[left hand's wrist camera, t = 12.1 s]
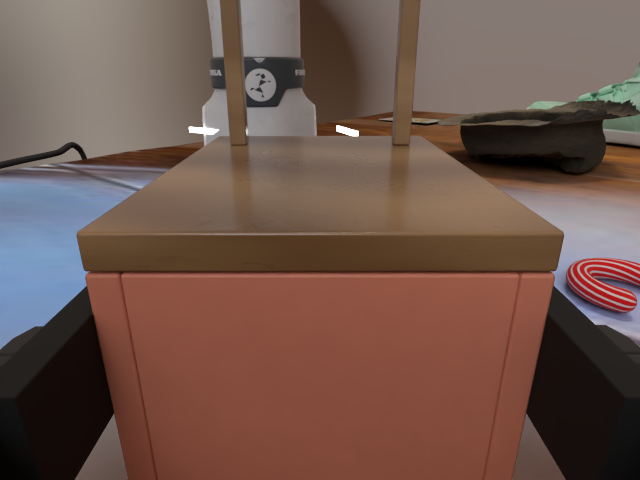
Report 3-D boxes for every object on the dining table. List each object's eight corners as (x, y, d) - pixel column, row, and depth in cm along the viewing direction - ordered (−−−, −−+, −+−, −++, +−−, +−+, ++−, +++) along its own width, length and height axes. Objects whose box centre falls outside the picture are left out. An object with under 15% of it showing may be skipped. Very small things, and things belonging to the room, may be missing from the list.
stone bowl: (672, 176, 55) (691, 98, 52) (483, 199, 53) (488, 119, 49) (549, 142, 78) (556, 86, 74) (412, 156, 75) (412, 100, 72)
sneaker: (535, 129, 99) (552, 28, 91) (740, 149, 75) (787, 14, 68) (506, 135, 90) (523, 24, 83) (728, 160, 66) (779, 7, 59)
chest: (230, 327, 24) (215, 158, 21) (409, 327, 24) (424, 158, 21) (146, 571, 12) (82, 275, 9) (494, 571, 12) (557, 275, 9)
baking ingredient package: (426, 122, 106) (377, 118, 116) (426, 124, 106) (377, 120, 116) (446, 119, 112) (397, 116, 122) (445, 121, 112) (397, 117, 122)
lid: (219, 154, 22) (202, -55, 18) (420, 154, 22) (437, -54, 18) (82, 273, 9) (-43, -310, 6) (558, 273, 9) (683, -311, 6)
